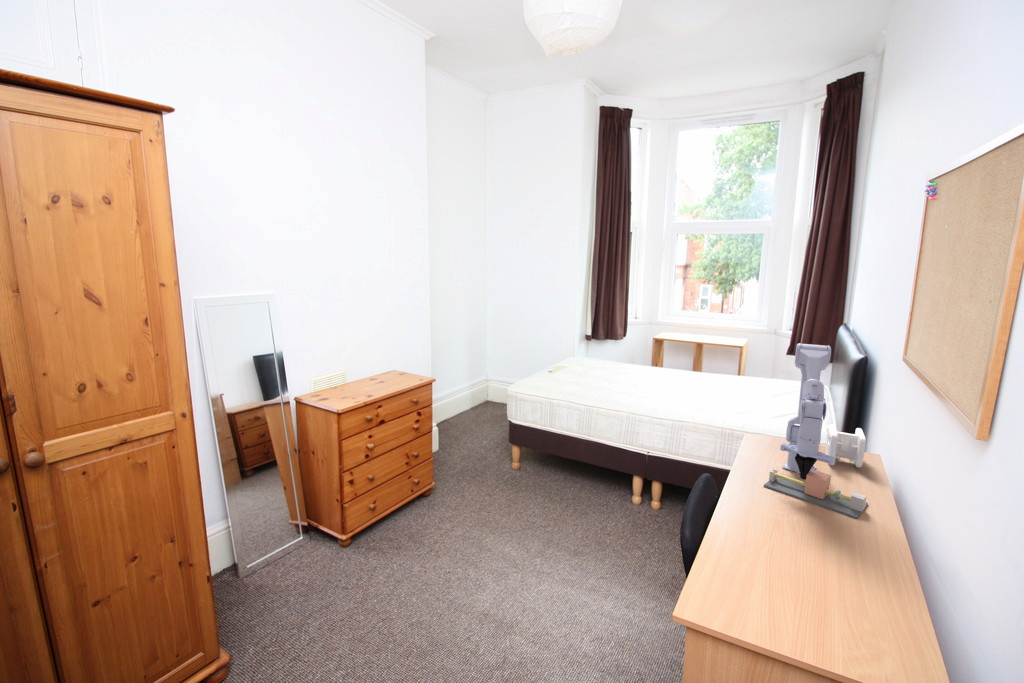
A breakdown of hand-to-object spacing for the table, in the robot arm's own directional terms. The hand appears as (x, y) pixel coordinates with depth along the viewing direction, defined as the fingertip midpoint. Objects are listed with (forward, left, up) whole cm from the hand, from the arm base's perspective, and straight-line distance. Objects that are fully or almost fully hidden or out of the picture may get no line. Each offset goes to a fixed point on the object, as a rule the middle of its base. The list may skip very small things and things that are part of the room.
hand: (803, 478), depth 146 cm
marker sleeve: (0, +4, -4) cm, 6 cm away
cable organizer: (-37, +2, -5) cm, 37 cm away
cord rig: (0, +3, -4) cm, 5 cm away
